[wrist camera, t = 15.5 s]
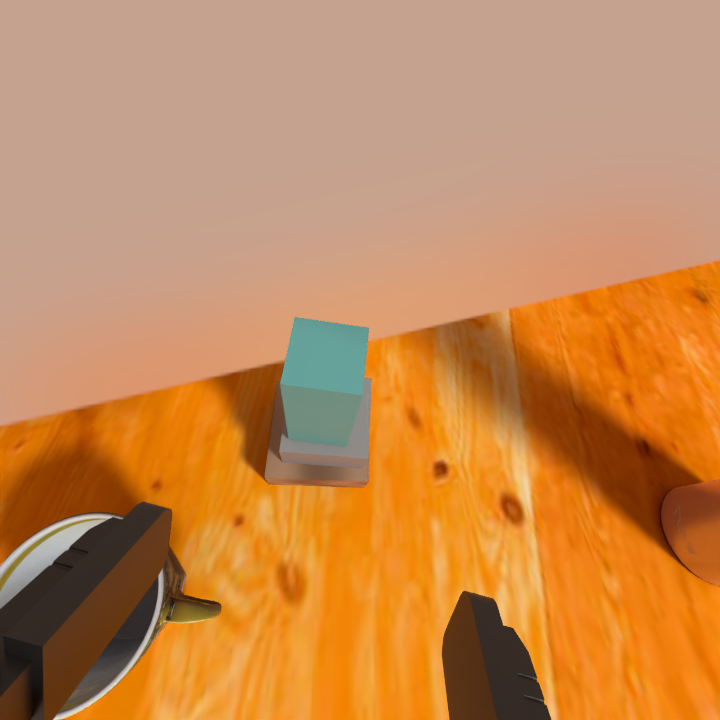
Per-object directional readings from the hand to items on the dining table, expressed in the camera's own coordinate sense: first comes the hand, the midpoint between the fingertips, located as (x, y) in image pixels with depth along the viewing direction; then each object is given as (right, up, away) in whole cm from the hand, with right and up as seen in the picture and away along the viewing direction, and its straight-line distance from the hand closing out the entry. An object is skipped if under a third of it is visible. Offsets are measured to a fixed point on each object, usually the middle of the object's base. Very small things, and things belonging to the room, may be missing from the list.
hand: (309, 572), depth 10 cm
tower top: (-2, -1, +24) cm, 24 cm away
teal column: (-2, +1, +20) cm, 20 cm away
